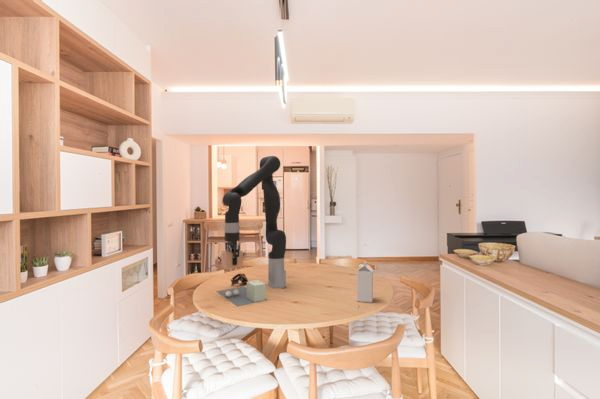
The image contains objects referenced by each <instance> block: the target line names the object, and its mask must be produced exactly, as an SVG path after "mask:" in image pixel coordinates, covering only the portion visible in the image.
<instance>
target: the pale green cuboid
mask: <svg viewBox="0 0 600 399" xmlns="http://www.w3.org/2000/svg"><path fill="white" fill-rule="evenodd" d="M266 286H267V285H266V283H265V282H263V281H261V280H258V279H254V280H250V281H249V280H248V282H247V284H246V288H247V298H248V299H250V300H252V301H253V302H256V303H260V302H259V301H261V302H264V301H263V300H266V299H267V297H266V296H267V295H266V294H267V293H266V291H267V288H266ZM266 301H267V300H266Z"/></svg>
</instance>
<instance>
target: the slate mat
mask: <svg viewBox="0 0 600 399" xmlns="http://www.w3.org/2000/svg"><path fill="white" fill-rule="evenodd" d="M236 289H237V290H238V291H239V294H238V295H234V294H233V291H234V290H236ZM227 291H231V293H232V295H231V296H230V297H227V296H226V292H227ZM216 293H218V294H219V295H221V296H222V297H223V298H224V299H226V300H228V301H229V302H231V303H232V304H233V305H234V306H236V307H243V306H246V305H250V304H251V305H253V304H256V303H257V302H253V301H252V300H250V299H248V298H247V287H245V286H244V285H243V286H239V287H238V286H237V287H233V288H226V289H222V290H221V289H220V290H217V291H216ZM265 301H268V299H267V298H266V300H263V301H259V302H258V303H261V302H265Z"/></svg>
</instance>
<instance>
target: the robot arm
mask: <svg viewBox="0 0 600 399" xmlns="http://www.w3.org/2000/svg"><path fill="white" fill-rule="evenodd" d="M280 168H281V160H280V159H279V158H278V156H275V155H269V156H265V157H262V158H261V159H260V160H259V169H257V170H256V171H254V172H253V173H251V174H250V175H248V176H246V177H245V178H244V179H243V180H241V182H240V183H238V184H237V185H236V186H235V187H233V188H232V189H230V190H228V191H227V192H226V193H224V195H223V197H222V203H223V204H224V205H225V206H226V207H228V208H227V211H226V212H225V213H224V214H225V215H224V241H225V243H224V247H225V248H224V249H225V250H224V251H230V252H231V253H232V257H233V265H237V257H239V251H240V249H241V245H240V244H238V243H237V242H239V241H240V235H241V234H240V228H241V227H240V216H239V215H240V212H241V207H242V197H246V196H247V195H249V194H250V193H251V192H252V191H253V190H254V189H255V188H256V187H257V186H258V185H259V184H260V183H262V190H263V205H264V215H265V216H264V217H265V241H266V242H267V244H269V245H271V251H269V252H268V255H267V256H268V258H267V259H268V262H267V263H268V264H267V265H268V266H267V267H268V273H267V274H268V276H267V278H268V281H267V282H268V287H269V288H271V289H284V288H287V271H286V270H285V255H286V251H287V236H286V233H285V232H284V231H283V230H282V229H278V216H279V214H280V211H281V197H280V193H279V191H278V189H277V187H276V184H275V181H274V177H273V175H274V173H276V172H277V171H278V170H279V169H280ZM233 251H234V252H233ZM237 253H238V254H237Z"/></svg>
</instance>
